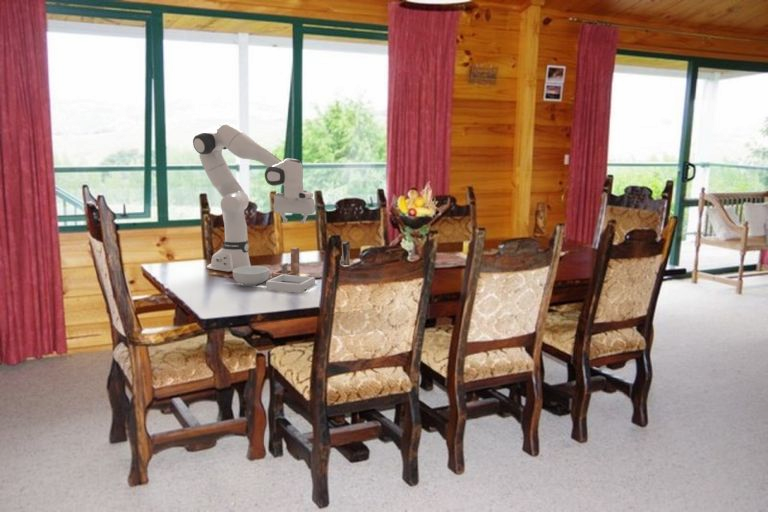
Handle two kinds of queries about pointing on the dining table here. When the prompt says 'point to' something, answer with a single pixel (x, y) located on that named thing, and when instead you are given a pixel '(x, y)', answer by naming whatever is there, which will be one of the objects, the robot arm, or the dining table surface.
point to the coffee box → (345, 253)
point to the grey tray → (290, 287)
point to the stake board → (284, 270)
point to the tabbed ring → (294, 264)
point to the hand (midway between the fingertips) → (294, 222)
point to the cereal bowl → (251, 275)
